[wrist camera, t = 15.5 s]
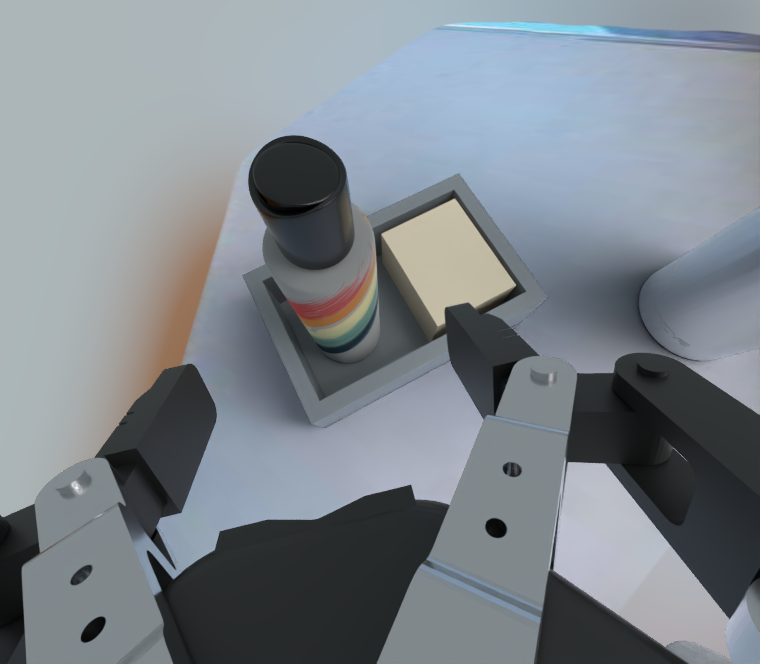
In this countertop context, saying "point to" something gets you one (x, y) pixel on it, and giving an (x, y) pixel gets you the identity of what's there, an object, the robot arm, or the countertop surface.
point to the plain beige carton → (443, 266)
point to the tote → (384, 317)
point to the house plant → (697, 653)
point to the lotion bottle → (318, 244)
